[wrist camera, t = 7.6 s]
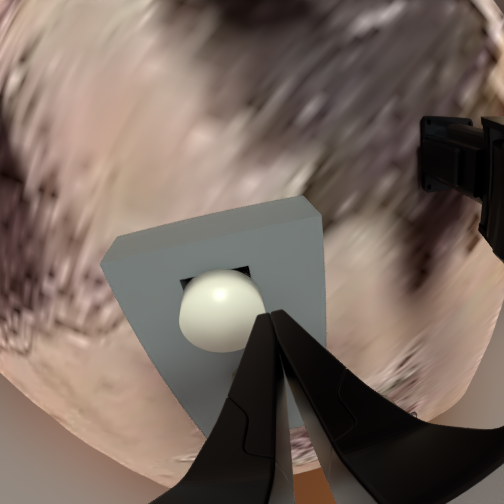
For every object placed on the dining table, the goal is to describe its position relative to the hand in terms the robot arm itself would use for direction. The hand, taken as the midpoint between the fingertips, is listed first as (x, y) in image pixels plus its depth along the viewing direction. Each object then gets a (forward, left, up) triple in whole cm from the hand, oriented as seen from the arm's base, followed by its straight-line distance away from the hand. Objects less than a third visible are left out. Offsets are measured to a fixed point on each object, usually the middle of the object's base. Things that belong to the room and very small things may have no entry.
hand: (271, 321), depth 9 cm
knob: (+3, +5, -12) cm, 13 cm away
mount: (+3, +14, -12) cm, 18 cm away
